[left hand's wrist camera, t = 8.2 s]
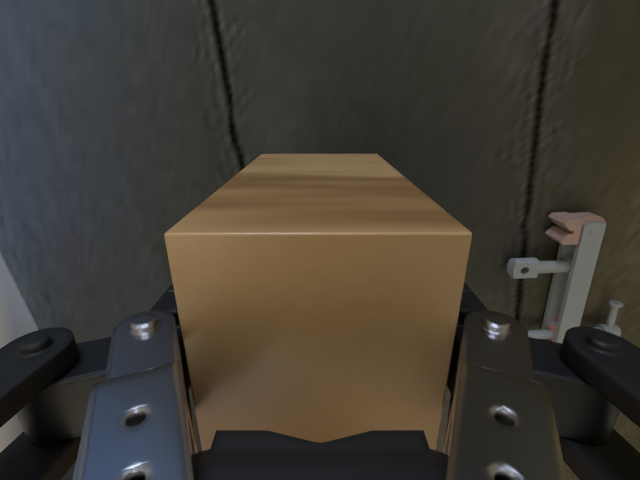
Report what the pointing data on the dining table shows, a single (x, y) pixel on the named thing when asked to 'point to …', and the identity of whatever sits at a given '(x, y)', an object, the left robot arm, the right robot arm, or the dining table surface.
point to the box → (318, 299)
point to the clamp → (568, 274)
